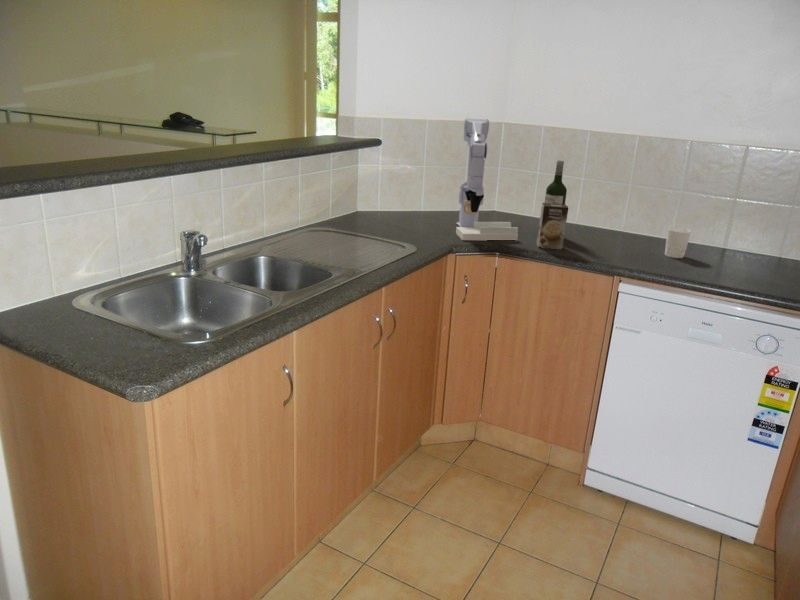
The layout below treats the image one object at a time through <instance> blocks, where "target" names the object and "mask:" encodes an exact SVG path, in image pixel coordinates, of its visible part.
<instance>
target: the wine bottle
mask: <svg viewBox="0 0 800 600" xmlns="http://www.w3.org/2000/svg"><path fill="white" fill-rule="evenodd" d="M564 164H565V162H564V160H559V159H558V160H557V161H556V167H555V172H554V179H553V181H552V182H551V183H550V184H549V185H547V187H546V189H545V198H544V203H552V204H563V205H566V199H567V192H568V191H567V187H566V186H565V184H564V183H563V173H564V166H565V165H564Z"/></svg>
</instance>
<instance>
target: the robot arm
mask: <svg viewBox="0 0 800 600" xmlns="http://www.w3.org/2000/svg"><path fill="white" fill-rule="evenodd" d="M489 130H490V120H489V119H488V118H487V119H484V118H470V117H469V118H468V117H466V118H465V119H464V123H463V139H464V141H465V142H467V144H468V161H467V162H468V163H467V176H466V177H467V178H466V179H467V180H466V181H465V182H463V183H462V184H460V187H459V194H458V204H459V205H461V206H460V208H459V216H458V221H456V225H457V226H458V227H474V222H479V211H480V207H481V206H483V205H484V204H483V203H484V197H485V195H484V193H485V192H484V186H483V182H484V173H485V172H484V171H485V165H486V164H485V161H486V159H487V156H488V143H486V142H487V138H488V134H489ZM465 200H470V201H471V212H477V211H478V214H466V213H465V212H464V202H465Z"/></svg>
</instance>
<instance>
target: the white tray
mask: <svg viewBox="0 0 800 600" xmlns="http://www.w3.org/2000/svg"><path fill="white" fill-rule="evenodd" d="M455 229H456V230H455V234H456V235H457V237H459V238H460V240H461V241H487V240H517V241H518V237H519V233H518V232H519V227H518V226H517V227H515V226H513V227H512V222H511V221H478V222H474V227H460V226H456V227H455Z"/></svg>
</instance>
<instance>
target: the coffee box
mask: <svg viewBox="0 0 800 600" xmlns="http://www.w3.org/2000/svg"><path fill="white" fill-rule="evenodd" d="M541 204H542V205H541V208H540V209H541V210H540V216H539V225H538V231H537V237H536V242H535V243H536V246H537V248H539V247H541V249H549V248H550V249H549V250H551V249H553V250H561V249H563V247H564V246H563V245H564V239H565V231H566V228H567V227H566V226H567V219H568V215H569V214H568V213H569V206H568V205H566V204H565V205H563V204H552V203H545V202H542V203H541Z"/></svg>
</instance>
